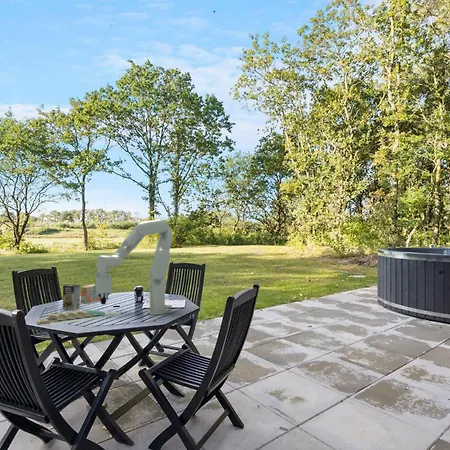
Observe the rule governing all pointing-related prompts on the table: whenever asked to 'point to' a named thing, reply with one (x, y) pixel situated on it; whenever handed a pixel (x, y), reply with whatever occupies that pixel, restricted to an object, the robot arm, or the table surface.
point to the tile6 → (47, 321)
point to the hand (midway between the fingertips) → (103, 304)
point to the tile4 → (65, 315)
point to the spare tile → (95, 312)
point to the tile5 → (56, 316)
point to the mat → (87, 317)
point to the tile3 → (75, 314)
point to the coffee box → (71, 297)
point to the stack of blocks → (89, 294)
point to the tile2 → (83, 313)
